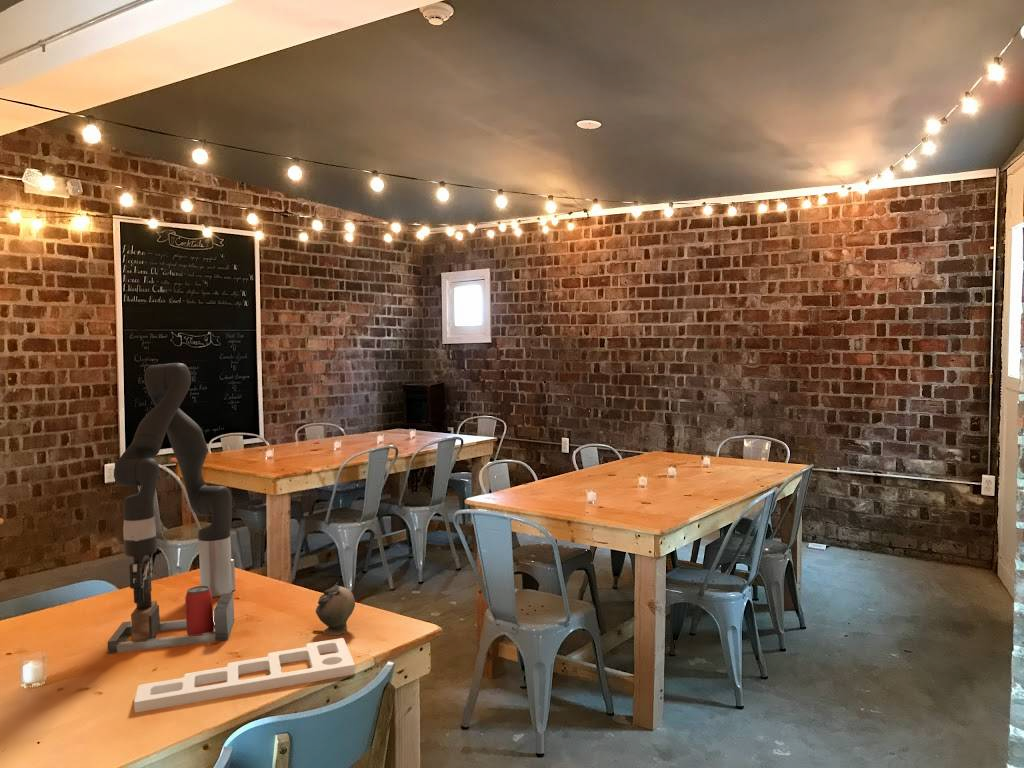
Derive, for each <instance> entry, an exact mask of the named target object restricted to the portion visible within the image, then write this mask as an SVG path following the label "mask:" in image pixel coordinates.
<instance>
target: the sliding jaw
mask: <svg viewBox="0 0 1024 768" xmlns="http://www.w3.org/2000/svg"><path fill="white" fill-rule="evenodd" d="M136 583H139V580H137V581H136ZM151 587H152V582H151V583H150V575H147V578H146V579H145V580H144V602H143V603H135V604H136V607H135V609H134V610H133V611H132V612H131V614H130V621H131V625H132V634H131V639H132V640H131V641H136V640H145V639H155V637H156V635H157V633H158V632H159V631H158V630H159V628H160V622H161V618H160V605H159V604H158V602H157V600H152V591H151Z"/></svg>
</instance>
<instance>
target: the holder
mask: <svg viewBox="0 0 1024 768" xmlns="http://www.w3.org/2000/svg"><path fill="white" fill-rule="evenodd" d="M331 652H333V653H331ZM326 653H327V654H326ZM305 660H307V661H308V662H309V666H310V667H309V668H305V669H299V670H293V671H288V672H285V671H284V672H282V668H281V664H286V663H292V662H298V661H305ZM226 664H227V666H224V667H217V668H213V669H205V670H199V671H193V672H189V673H188V672H187V673H186V672H185V673H184V674H183V677H180V678H174V679H166V680H160V681H154V682H149V683H143V684H138V687H137V689H136V693H135V696H134V701H133V702H134V704H133V705H134V706H133V707H134V713H140V712H146V711H151V710H152V711H153V710H158V709H163V708H164V709H165V708H170V707H176V706H181V705H186V704H192V703H197V702H205V701H209V700H214V699H220V698H227V697H232V696H238V695H245V694H249V693H250V694H251V693H256V692H259V691H266V690H267V691H268V690H271V689H277V688H278V689H279V688H284V687H290V686H294V685H295V686H296V685H300V684H301V685H302V684H306V683H312V682H318V681H324V680H329V679H335V678H340V677H347V676H352V675H355V674H356V663H355V662H354V659H353V656H352V654H351V651H350V650H349V648H348V645H347V643H346V641H345V639H344V638H343V637H339V638H334V639H328V640H321V641H315V642H309V643H306V644H305V646H303V647H298V648H297V647H296V648H292V649H285V650H280V651H279V650H278V651H273V652H268V653H267V656H264V657H263V656H262V657H257V658H252V659H244V660H238V661H232V662H227V663H226ZM261 671H269V674H267V675H263V676H256V677H251V678H244V679H239V676H240V675H243V674H250V673H255V672H261ZM224 681H225V682H224ZM218 682H220V683H218ZM221 682H222V683H221ZM211 683H212V684H211ZM213 683H214V684H213ZM205 684H210V685H205ZM202 685H203V686H202Z"/></svg>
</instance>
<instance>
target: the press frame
mask: <svg viewBox="0 0 1024 768" xmlns="http://www.w3.org/2000/svg"><path fill="white" fill-rule="evenodd" d="M234 604H235V603H234V592H231V593H224V594H221V596H219V599H218V600H217V603H216V605H215V608H214V609H213V616H214V622H215V625H214V631H213V632H210V633H201V634H191V635H187V634H184V635H183V634H182V635H176V636H175V635H174V636H165V637H156V638H155V637H154V638H153V639H145V640H136V641H132V640H129V641H127V639H128V638H129V637H130V635H132V624H131V620H130V621H123V622H121V624H120V625H119V626H118V627H117V629H116V630H115V631H114V633H113V634H112V635H111V636H110V638H109V639H108V640H107V654H108V655H110V654H116V653H117V654H119V653H126V652H128V653H129V652H134V651H143V650H144V651H146V650H152V649H161V648H172V647H179V646H188V645H189V646H190V645H199V644H206V643H207V644H208V643H215V642H216V643H217V642H225V641H229V639H230V635H231V632H232V630H233V627H234V624H235V605H234ZM182 629H187V623H186V618H185V619H175V620H166V621H160V628H159V630H158V631H157V632H164V631H165V632H166V631H174V630H182Z"/></svg>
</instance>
